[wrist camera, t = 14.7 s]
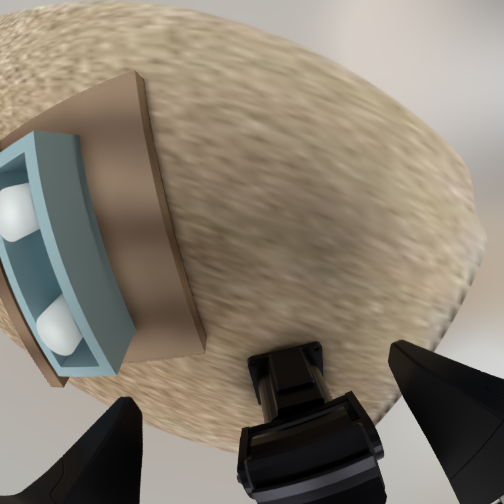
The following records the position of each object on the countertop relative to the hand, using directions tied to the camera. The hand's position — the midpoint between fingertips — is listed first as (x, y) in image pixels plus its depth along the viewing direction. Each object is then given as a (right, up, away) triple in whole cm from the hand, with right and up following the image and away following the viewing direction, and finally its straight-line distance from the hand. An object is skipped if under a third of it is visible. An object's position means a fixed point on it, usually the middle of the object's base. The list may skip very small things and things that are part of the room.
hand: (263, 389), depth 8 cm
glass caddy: (-12, +5, +8) cm, 15 cm away
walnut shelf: (-13, +5, +10) cm, 17 cm away
